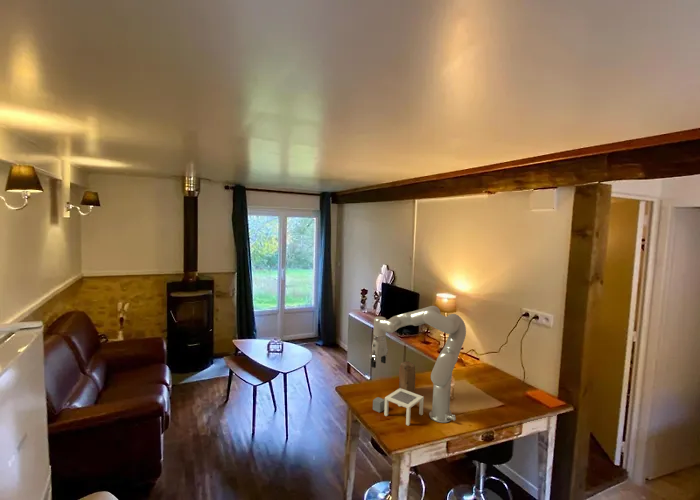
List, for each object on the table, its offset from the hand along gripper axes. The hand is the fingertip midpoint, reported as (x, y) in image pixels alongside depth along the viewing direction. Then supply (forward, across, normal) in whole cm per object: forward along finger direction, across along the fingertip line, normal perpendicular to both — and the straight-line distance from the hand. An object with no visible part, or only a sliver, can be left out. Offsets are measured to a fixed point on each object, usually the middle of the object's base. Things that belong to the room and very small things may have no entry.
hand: (378, 364), depth 226 cm
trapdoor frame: (+23, -1, -20) cm, 31 cm away
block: (+23, +22, -6) cm, 33 cm away
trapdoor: (+13, -1, -20) cm, 24 cm away
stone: (+23, -7, -6) cm, 25 cm away
